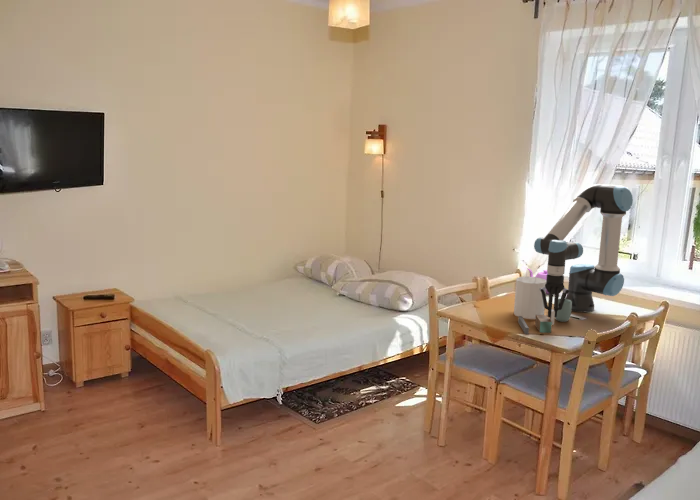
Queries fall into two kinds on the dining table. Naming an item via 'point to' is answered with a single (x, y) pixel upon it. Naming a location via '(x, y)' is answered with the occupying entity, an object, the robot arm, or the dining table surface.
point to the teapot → (540, 276)
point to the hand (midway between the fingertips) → (551, 323)
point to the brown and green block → (543, 323)
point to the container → (529, 297)
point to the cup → (564, 311)
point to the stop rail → (523, 325)
